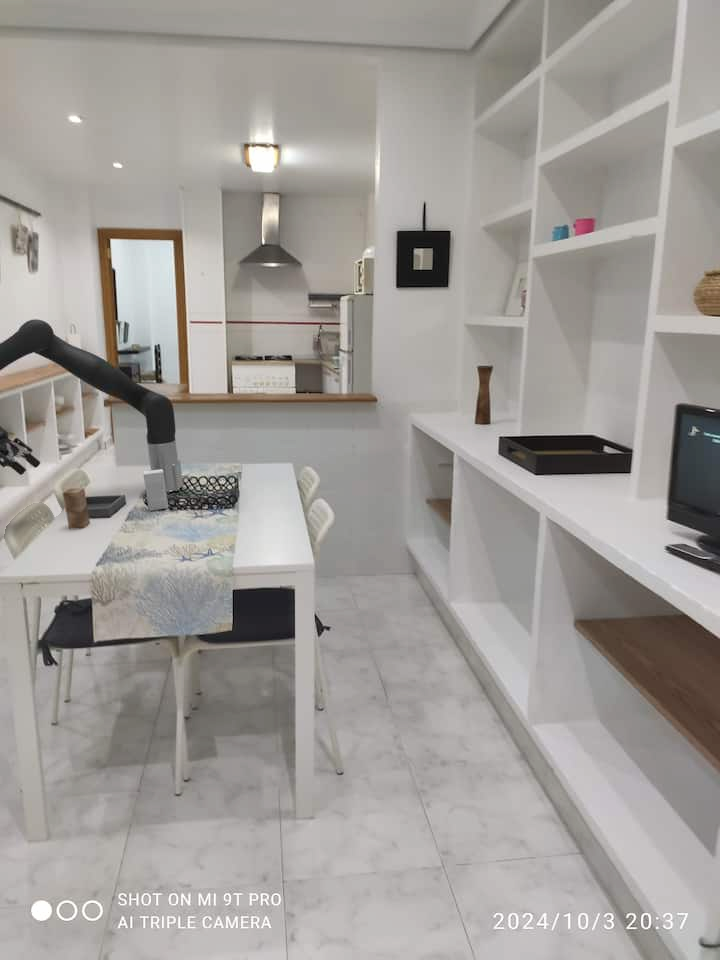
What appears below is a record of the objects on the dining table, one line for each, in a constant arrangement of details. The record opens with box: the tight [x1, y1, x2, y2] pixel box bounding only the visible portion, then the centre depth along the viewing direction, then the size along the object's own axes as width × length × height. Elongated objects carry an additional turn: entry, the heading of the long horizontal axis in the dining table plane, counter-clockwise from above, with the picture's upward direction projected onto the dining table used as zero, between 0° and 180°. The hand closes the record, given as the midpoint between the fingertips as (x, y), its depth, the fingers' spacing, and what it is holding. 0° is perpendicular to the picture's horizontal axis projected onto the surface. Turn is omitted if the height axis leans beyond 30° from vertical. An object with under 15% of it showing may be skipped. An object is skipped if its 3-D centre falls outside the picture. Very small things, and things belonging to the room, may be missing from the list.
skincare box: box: [143, 469, 169, 512], centre depth 220 cm, size 6×4×12 cm
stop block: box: [62, 487, 91, 529], centre depth 206 cm, size 4×4×11 cm
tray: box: [85, 494, 127, 519], centre depth 221 cm, size 13×14×3 cm
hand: (31, 468), depth 204 cm, fingers open, 8 cm apart
